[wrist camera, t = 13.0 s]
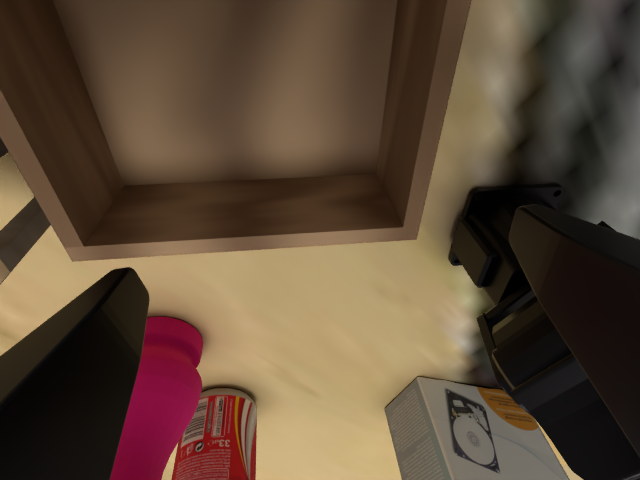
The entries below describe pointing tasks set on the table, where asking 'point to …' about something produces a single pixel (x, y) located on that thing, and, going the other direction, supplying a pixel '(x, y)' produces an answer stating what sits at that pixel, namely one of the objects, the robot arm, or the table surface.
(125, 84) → the open wooden box
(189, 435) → the soda can
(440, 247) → the table surface
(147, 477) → the pepper mill
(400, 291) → the table surface
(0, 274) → the tan wooden bar
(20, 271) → the table surface
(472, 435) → the hard drive box
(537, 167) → the table surface
